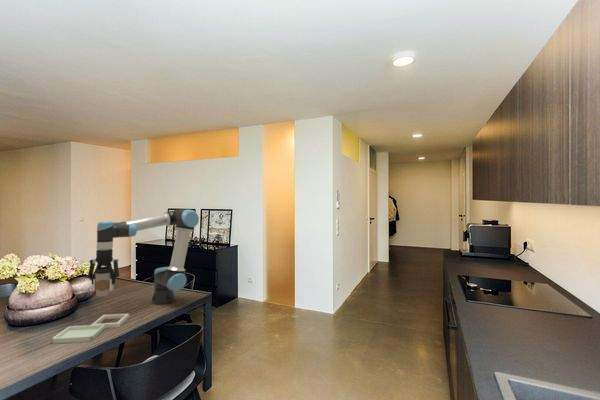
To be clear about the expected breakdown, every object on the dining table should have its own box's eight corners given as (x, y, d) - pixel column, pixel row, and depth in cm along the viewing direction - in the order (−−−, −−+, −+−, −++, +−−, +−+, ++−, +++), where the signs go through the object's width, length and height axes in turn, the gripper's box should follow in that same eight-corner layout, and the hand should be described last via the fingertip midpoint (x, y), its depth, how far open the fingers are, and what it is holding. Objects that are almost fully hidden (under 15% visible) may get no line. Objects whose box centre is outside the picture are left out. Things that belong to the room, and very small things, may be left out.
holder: (129, 316, 172) (129, 313, 172) (118, 327, 158) (118, 323, 158) (103, 318, 169) (103, 314, 169) (90, 328, 156) (90, 325, 156)
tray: (105, 328, 156) (105, 324, 156) (91, 341, 142) (91, 336, 142) (68, 330, 153) (68, 326, 153) (50, 343, 139) (50, 339, 139)
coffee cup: (92, 298, 154) (93, 270, 154) (95, 293, 161) (96, 266, 162) (111, 296, 158) (111, 268, 158) (113, 291, 165) (113, 265, 165)
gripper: (127, 248, 165) (126, 287, 165) (88, 248, 162) (86, 288, 162) (121, 250, 158) (120, 291, 157) (80, 250, 154) (78, 292, 154)
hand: (103, 290), depth 159 cm, fingers closed on coffee cup, 7 cm apart
